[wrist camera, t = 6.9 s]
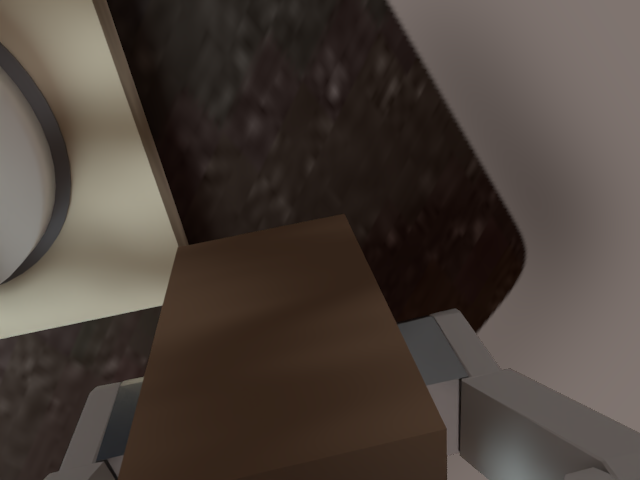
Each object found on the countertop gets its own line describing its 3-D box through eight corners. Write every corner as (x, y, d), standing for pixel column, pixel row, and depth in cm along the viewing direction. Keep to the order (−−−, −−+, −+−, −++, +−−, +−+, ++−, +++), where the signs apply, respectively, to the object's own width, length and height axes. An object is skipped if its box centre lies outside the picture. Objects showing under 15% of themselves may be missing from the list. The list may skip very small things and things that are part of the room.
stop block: (344, 213, 10) (446, 428, 5) (361, 338, 11) (447, 586, 7) (177, 247, 9) (110, 508, 5) (221, 369, 11) (205, 648, 6)
